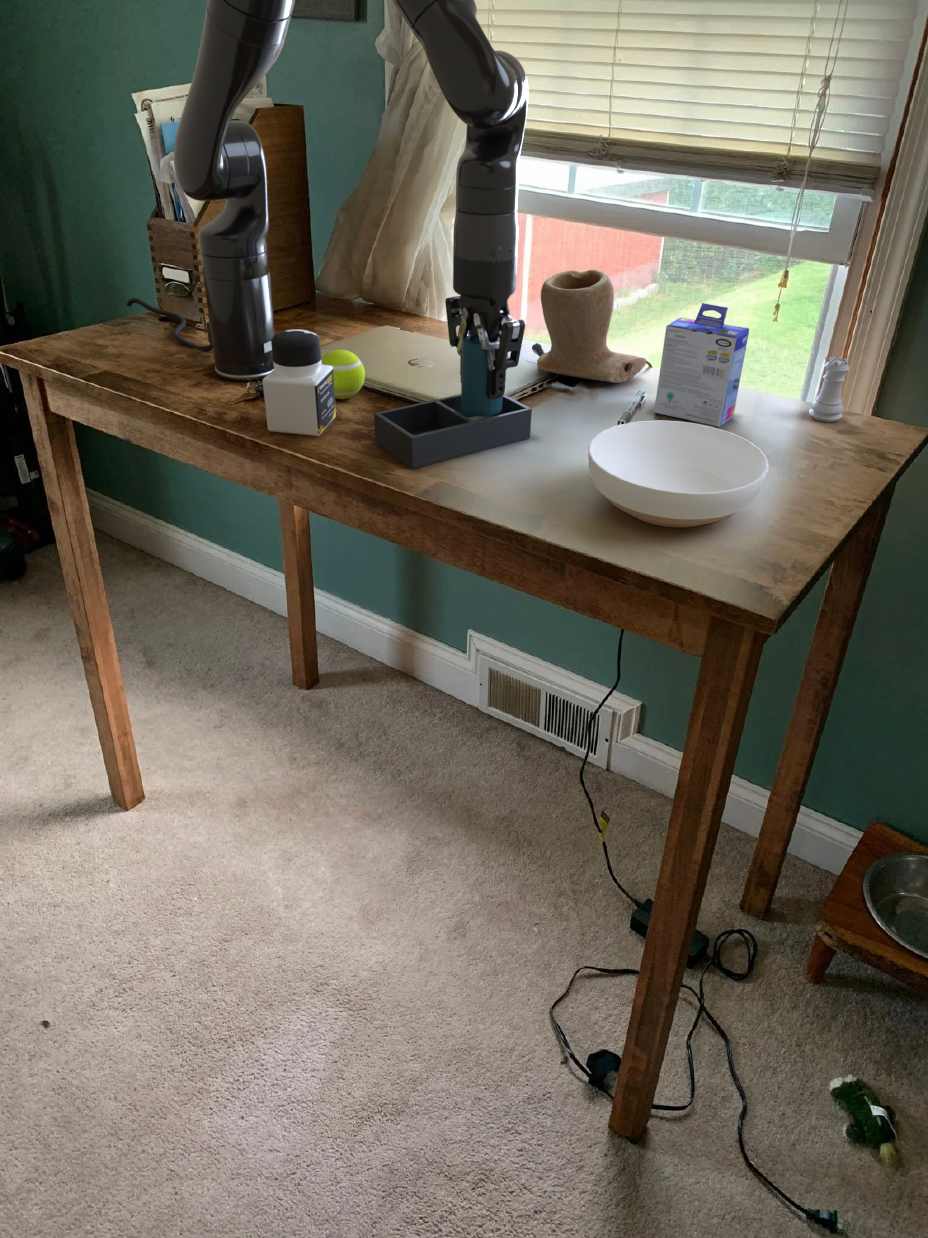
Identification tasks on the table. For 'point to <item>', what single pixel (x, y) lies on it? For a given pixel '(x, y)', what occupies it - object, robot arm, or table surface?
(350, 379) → the tennis ball
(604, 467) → the bowl
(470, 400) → the jar
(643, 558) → the table surface
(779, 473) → the table surface
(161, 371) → the table surface
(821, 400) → the rook chess piece
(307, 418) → the medicine bottle
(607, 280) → the clay platform pipe
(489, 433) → the divided tray
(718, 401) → the ink cartridge box
